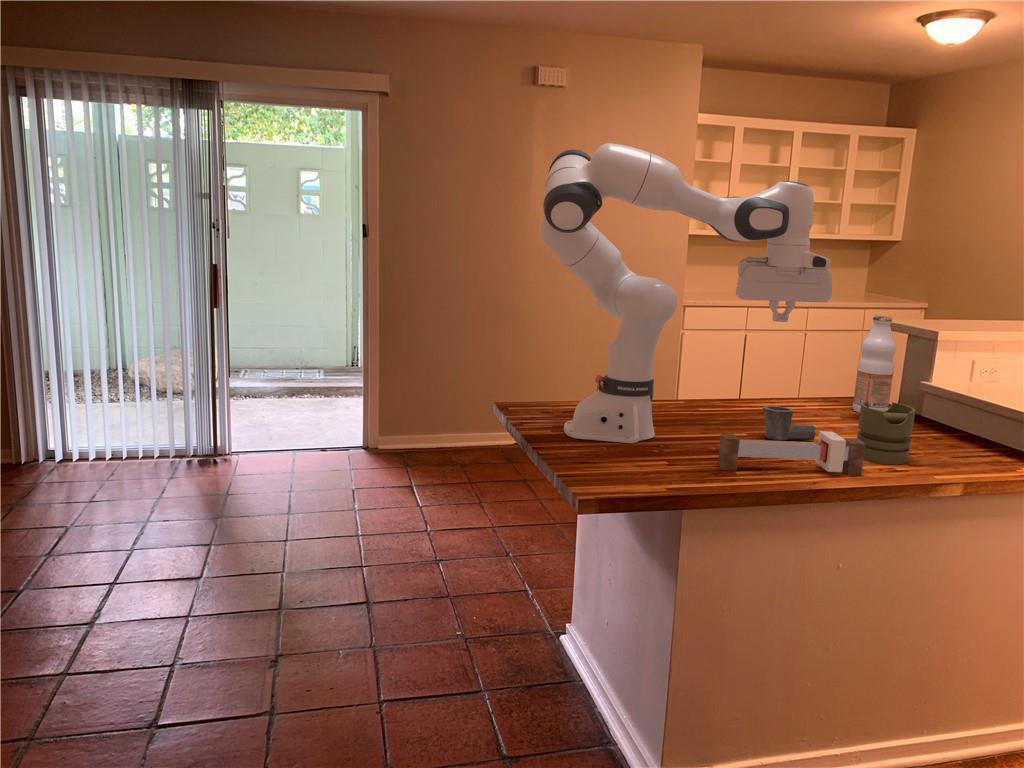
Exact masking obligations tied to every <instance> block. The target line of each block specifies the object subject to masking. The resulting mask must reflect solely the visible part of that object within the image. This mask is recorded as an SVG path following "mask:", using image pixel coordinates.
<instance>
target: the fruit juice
mask: <svg viewBox="0 0 1024 768" xmlns="http://www.w3.org/2000/svg"><path fill="white" fill-rule="evenodd" d="M892 321H893V317H892V316H889V315H888V316H886V315H874V316H872V322H873V324H872V326H871V328H870V330H869V332H868V334H867V336H865V338H864V339H863V341H862V342H861V346H860V347H861V348H860V350H861V357H860V359H859V360H858V361H859V362H858V365H857V373H856V377H855V378H856V380H855V387H854V396H853V402H852V410H853V412H855V411H856V413H859V414H860V410H861V403H862V402H866V401H868V405H869V408H871V409H875V410H880V411H886V409H889V408H890V406H889V405H890V400H891V399H890V397H891V393H892V392H891V391H892V385H893V377H894V372H895V371H894V370H895V362H894V357H895V355H896V352H897V344H896V341H895V340H894V338H893V332H892V329H891V324H892V323H893V322H892Z"/></svg>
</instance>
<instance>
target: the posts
mask: <svg viewBox="0 0 1024 768" xmlns="http://www.w3.org/2000/svg"><path fill="white" fill-rule="evenodd" d="M843 439H845V440H846V445H848V446H849V447H850V453H849V460H848V461H843V468H842V472H843V471H844V472H843V473H845V474H846V475H848V476H862V475H863V474H862V473H863V466H864V461H865V460H864V454H865V446H866V444H865V443H863V442H862V441H860V440H859V439H857V438H848V437H847V438H845V437H844V438H843ZM740 440H741V438H739V437H738V436H737V435H736V434H734V433H720V437H719V445H718V446H719V449H718V459H717V465H718V467H719V466H720V467H721V468H720V467H719V468H720V469H721V470H722V471H734V472H735V471H736V472H737V470H738V469H737V467H738V458H739V457H738V451H739V441H740Z"/></svg>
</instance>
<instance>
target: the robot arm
mask: <svg viewBox="0 0 1024 768" xmlns="http://www.w3.org/2000/svg"><path fill="white" fill-rule="evenodd" d="M605 198H615V199H617V200H620V201H623V202H626V203H628V204H631V205H633V206H637V207H639V208H644V209H649V210H653V211H662V212H663V211H666V212H669V211H670V212H675V213H678V214H682V215H684V216H687V217H689V218H691V219H695V220H697V221H700V222H702V223H705V224H707V225H709V226H710V228H712V229H713V230H714V231H715V232H716V234H718V235H719V237H721V238H722V239H724V240H726V241H729V242H735V243H736V242H737V243H738V242H750V243H751V242H754V243H755V242H759V241H764V240H767V244H766V253H765V257H761V256H759V257H752V256H746V257H745V258H743V259H742V260H740V261H739V264H738V266H737V267H738V268H737V273H738V279H737V282H736V283H737V284H736V287H735V288H736V289H735V295H736V297H737V298H738V299H739V300H743V301H745V300H749V301H768V305H769V309H770V310H771V313H772V321H773V322H776V323H777V322H781V323H787V322H788V321H789V315H790V314H791V313H792V311H793V310H794V308H795V307H796V302H797V303H798V302H803V303H805V302H806V303H828V302H829V301H830V300H831V299H832V294H833V275H832V272H831V271H830V270H829V269H830V268H831V265H832V260H831V259H830V258H829V257H825V256H823V255H820V254H818V253H815V252H812V251H810V248H811V241H810V233H811V231H812V227H813V224H814V223H813V222H814V210H815V198H814V191H813V188H811V186H809V185H808V184H805V183H801V182H798V181H795V180H793V181H790V180H780V181H778V182H777V183H775V184H774V185H773V186H771V187H769V188H767V189H765V190H763V191H760V192H757V193H755V194H752V195H749V196H727V197H723V196H722V197H721V196H717V195H715V194H712V193H709V192H708V191H705V190H702V189H701V188H698V187H694V186H692V185H690V183H687V182H686V181H685V180H684V178H683V177H682V172H681V171H680V169H679V166H677V165H676V164H674V163H672V162H670V161H669V160H667V159H665V158H663V157H661V156H659V155H657V154H655V153H652V152H649V151H647V150H643V149H641V148H637V147H633V146H628V145H625V144H619V143H612V142H608V143H603V144H601V145H600V146H599V147H597V148H596V150H595V151H594V153H593V154H592V156H590V155H589V154H587V153H586V152H584V151H582V150H579V149H567V150H564V151H562V152H560V153H559V154H558V155H557V156H556V157H555V158H553V160H552V163H551V165H550V167H549V169H548V174H547V177H546V181H545V185H544V200H543V204H542V207H543V213H544V216H543V218H542V220H541V221H540V225H539V230H538V231H539V236H540V238H541V240H542V241H543V243H544V245H545V246H546V247H547V248H548V250H549V251H550V252H551V253H552V254H553V255H554V257H556V258H557V260H558V261H559V262H560V263H562V265H564V266H565V268H567V269H568V270H569V271H570V272H571V273H572V274H573V275H575V277H576V278H578V279H579V280H580V281H581V282H582V283H583V284H584V285H585V286H586V287H587V288H588V290H590V292H591V294H592V295H593V296H594V298H595V299H596V301H597V303H598V305H599V306H600V308H601V309H602V310H603V311H604V312H606V313H607V314H608V315H611V316H612V317H614V318H617V319H620V320H621V321H620V326H619V328H618V331H617V334H616V336H615V338H614V339H613V340H611V342H610V343H609V346H608V355H607V357H608V358H607V369H606V373H607V374H606V375H604V376H603V375H601V374H597V375H596V376H595V377H594V381H595V382H596V383H597V391H595V392H593V393H592V394H590V395H589V396H588V397H586V398H584V399H583V400H581V401H580V402H578V404H577V405H576V407H575V410H574V413H573V416H572V420H568V421H566V422H565V423H564V426H563V432H564V434H565V435H567V436H568V437H570V438H572V439H580V440H592V441H601V442H613V443H622V444H624V443H625V444H635V443H638V442H641V441H645V440H648V439H653V438H654V437H655V436H656V433H655V429H654V423H653V415H652V414H653V413H652V411H653V409H652V403H653V399H654V393H655V379H654V377H653V374H654V364H655V354H656V348H657V344H658V340H659V337H660V334H661V333H662V330H663V327H664V326H665V324H666V323H667V322H668V321H669V320H671V318H672V317H673V315H674V314H675V312H676V309H677V306H678V300H677V299H678V297H677V294H676V292H675V290H674V289H673V287H672V286H670V285H669V284H667V283H666V282H664V281H662V280H660V279H659V278H655V277H651V276H650V277H649V276H642V275H639V274H637V273H635V272H633V271H632V270H631V269H629V268H628V266H627V265H626V264H625V262H624V261H623V259H622V253H621V251H620V250H619V249H618V248H617V247H616V246H615V245H614V244H613V243H612V242H611V241H610V240H609V239H608V238H607V236H605V235H604V234H603V233H602V232H601V231H600V230H599V229H598V228H597V227H595V225H594V224H593V223H591V222H590V221H591V220H592V218H593V217H594V215H595V214H596V213H597V212H598V211H599V210H600V209H602V207H603V199H605ZM780 302H785V306H786V308H785V309H784V311H783V312H779V311H778V309H777V307H778V306H779V303H780Z"/></svg>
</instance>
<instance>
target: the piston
mask: <svg viewBox="0 0 1024 768" xmlns="http://www.w3.org/2000/svg"><path fill="white" fill-rule="evenodd" d="M915 416H916V409H915V408H914V407H912V406H910V405H906V404H903V403H899V402H893V401H892V402H891V405H890V406H889V407H888V409H887V410H886V411H880V410H875V409H871V408H869V405H868V401H866V402H862V403H861V410H860V413H859V417H858V428H857V429H859V431H857V432H856V433H857V434H856V439H859V440H860V441H862V442H863V443H865V444H866V446H865V454H864V459H865V460H864V461H867V460H868V462H871V461H872V463H876V462H877V464H881V463H883V464H884V465H904V464H907V463H908V462H909V457H910V450H911V449H910V447H911V445H912V444H911V442H912V439H911V438H910V437H911V436H913V429H914V424H915V423H914V422H915ZM883 464H882V465H883Z"/></svg>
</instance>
